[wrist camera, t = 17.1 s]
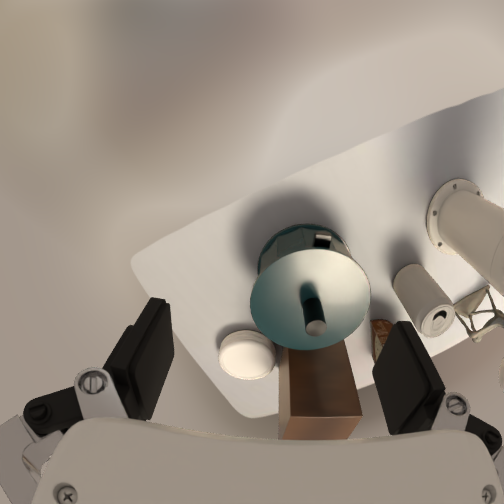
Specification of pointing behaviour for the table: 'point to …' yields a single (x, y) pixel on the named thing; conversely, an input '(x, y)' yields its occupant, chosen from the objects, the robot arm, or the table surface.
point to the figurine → (468, 309)
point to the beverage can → (424, 300)
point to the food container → (379, 335)
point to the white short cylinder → (247, 355)
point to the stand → (317, 394)
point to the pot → (300, 242)
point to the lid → (310, 298)
